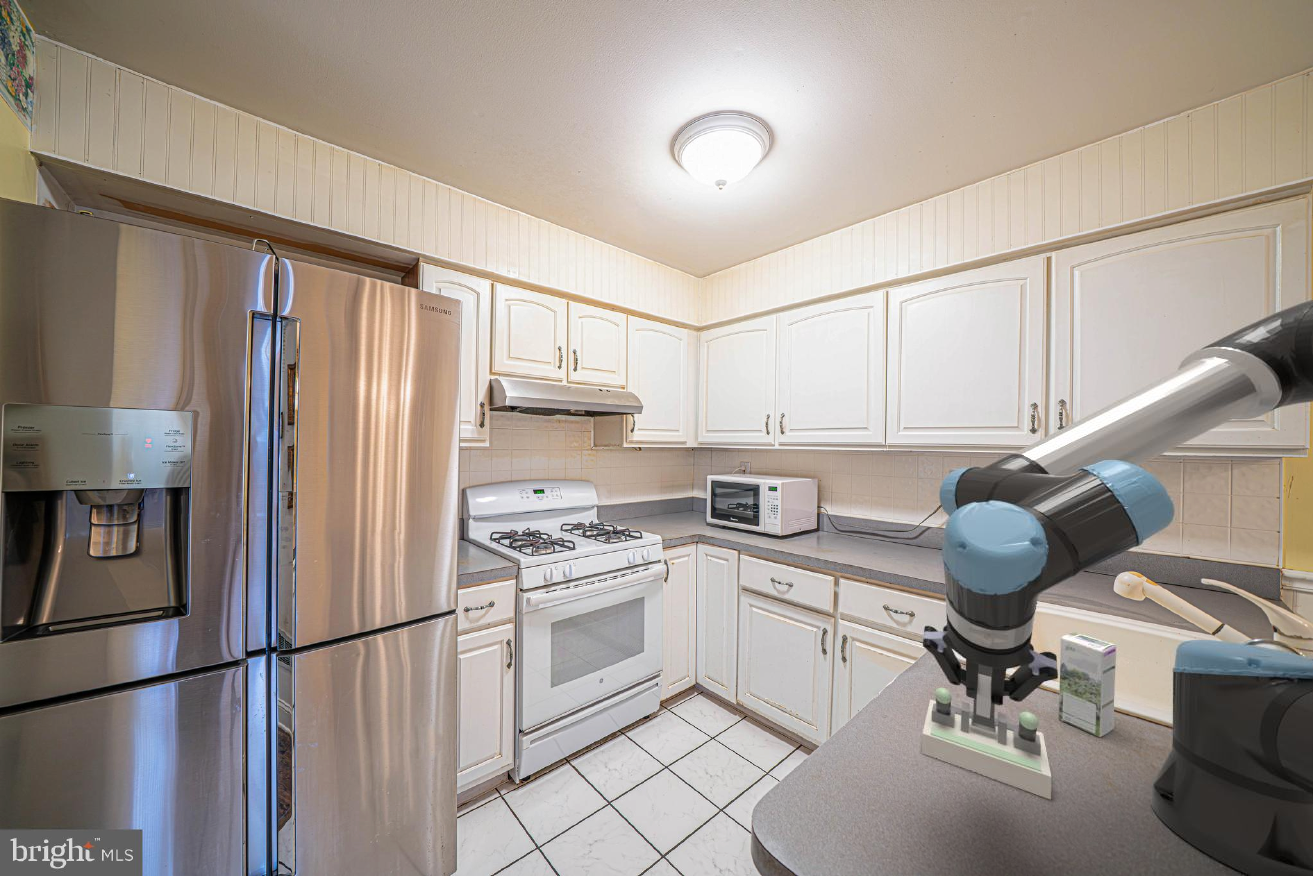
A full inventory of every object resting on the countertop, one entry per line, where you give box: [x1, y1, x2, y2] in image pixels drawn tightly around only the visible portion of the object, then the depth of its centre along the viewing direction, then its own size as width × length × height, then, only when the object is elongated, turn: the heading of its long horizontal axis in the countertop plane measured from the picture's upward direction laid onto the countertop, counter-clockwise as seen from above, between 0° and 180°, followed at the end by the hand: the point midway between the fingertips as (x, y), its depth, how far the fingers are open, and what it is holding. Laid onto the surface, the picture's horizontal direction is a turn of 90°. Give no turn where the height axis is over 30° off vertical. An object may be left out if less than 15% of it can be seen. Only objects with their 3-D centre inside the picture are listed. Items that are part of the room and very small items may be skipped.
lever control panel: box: [921, 687, 1053, 801], centre depth 72 cm, size 15×12×9 cm
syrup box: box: [1058, 632, 1117, 738], centre depth 80 cm, size 6×6×14 cm
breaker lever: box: [971, 664, 996, 733], centre depth 72 cm, size 3×2×13 cm
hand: (983, 706), depth 64 cm, fingers closed
